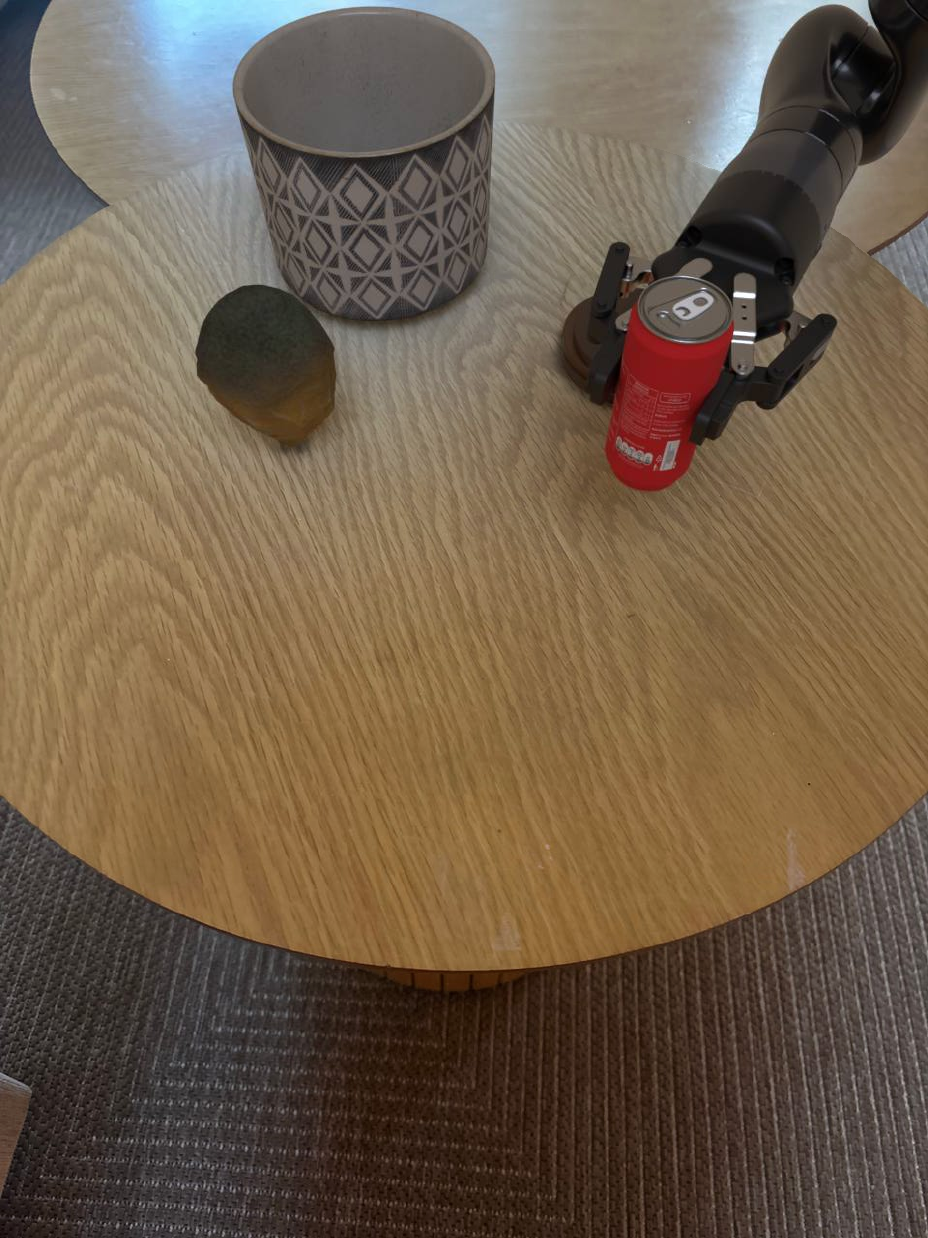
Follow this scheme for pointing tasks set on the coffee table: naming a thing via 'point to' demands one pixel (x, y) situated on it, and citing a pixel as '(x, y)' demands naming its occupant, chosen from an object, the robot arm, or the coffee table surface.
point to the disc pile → (578, 347)
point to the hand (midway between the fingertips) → (647, 412)
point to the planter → (371, 157)
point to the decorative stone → (268, 362)
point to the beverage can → (666, 379)
